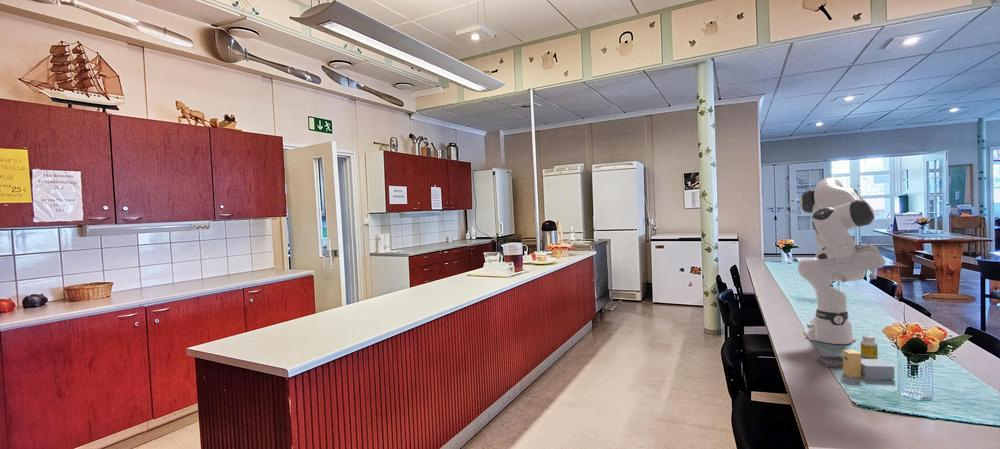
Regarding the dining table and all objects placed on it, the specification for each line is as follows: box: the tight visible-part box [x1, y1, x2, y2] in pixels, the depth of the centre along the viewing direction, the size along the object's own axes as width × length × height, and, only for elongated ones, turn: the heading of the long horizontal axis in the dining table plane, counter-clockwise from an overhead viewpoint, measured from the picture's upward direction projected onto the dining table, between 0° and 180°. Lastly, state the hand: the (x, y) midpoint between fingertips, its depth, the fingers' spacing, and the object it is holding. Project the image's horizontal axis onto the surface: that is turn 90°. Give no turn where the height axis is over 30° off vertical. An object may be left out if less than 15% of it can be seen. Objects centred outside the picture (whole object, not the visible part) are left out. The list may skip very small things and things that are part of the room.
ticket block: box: [860, 358, 895, 381], centre depth 168 cm, size 8×9×5 cm
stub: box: [842, 349, 862, 378], centre depth 170 cm, size 4×4×9 cm
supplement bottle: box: [860, 334, 879, 359], centre depth 185 cm, size 5×5×10 cm
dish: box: [816, 355, 843, 369], centre depth 182 cm, size 9×9×2 cm
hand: (859, 279), depth 169 cm, fingers open, 8 cm apart
